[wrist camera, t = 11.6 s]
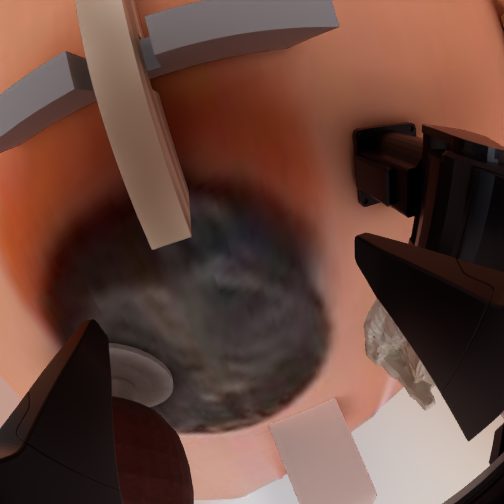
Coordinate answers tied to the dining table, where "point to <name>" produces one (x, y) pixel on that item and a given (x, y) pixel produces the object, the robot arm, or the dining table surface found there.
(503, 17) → the rough brown rock
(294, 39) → the grey notched bar
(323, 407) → the milk
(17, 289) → the dining table surface
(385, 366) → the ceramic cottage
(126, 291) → the dining table surface
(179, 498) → the mate gourd
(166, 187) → the long wooden slat
